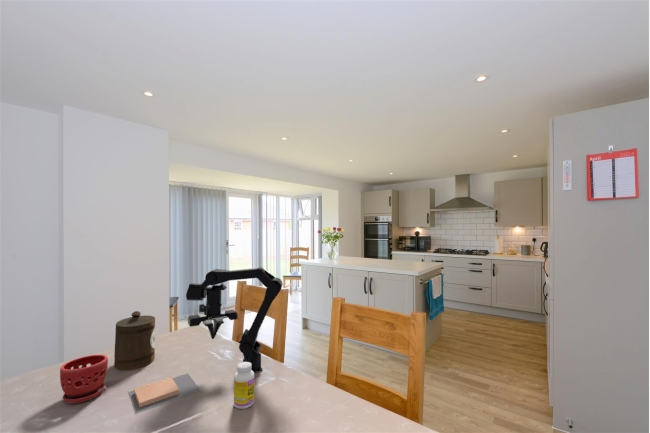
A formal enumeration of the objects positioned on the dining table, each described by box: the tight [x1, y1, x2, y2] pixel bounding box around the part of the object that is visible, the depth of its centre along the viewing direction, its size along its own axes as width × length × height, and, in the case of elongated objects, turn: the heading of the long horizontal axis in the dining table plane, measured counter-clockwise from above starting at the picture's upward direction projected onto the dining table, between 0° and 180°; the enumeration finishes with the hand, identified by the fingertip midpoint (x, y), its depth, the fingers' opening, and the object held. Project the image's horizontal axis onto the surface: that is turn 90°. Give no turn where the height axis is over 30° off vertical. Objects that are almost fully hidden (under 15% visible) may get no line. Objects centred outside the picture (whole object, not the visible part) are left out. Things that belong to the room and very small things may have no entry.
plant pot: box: [59, 354, 109, 404], centre depth 104 cm, size 13×13×12 cm
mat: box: [128, 373, 202, 415], centre depth 106 cm, size 20×16×1 cm
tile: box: [133, 376, 179, 408], centre depth 104 cm, size 2×11×12 cm
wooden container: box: [113, 310, 156, 371], centre depth 129 cm, size 15×15×22 cm
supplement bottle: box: [233, 361, 255, 410], centre depth 100 cm, size 7×7×13 cm
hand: (212, 338), depth 122 cm, fingers closed
